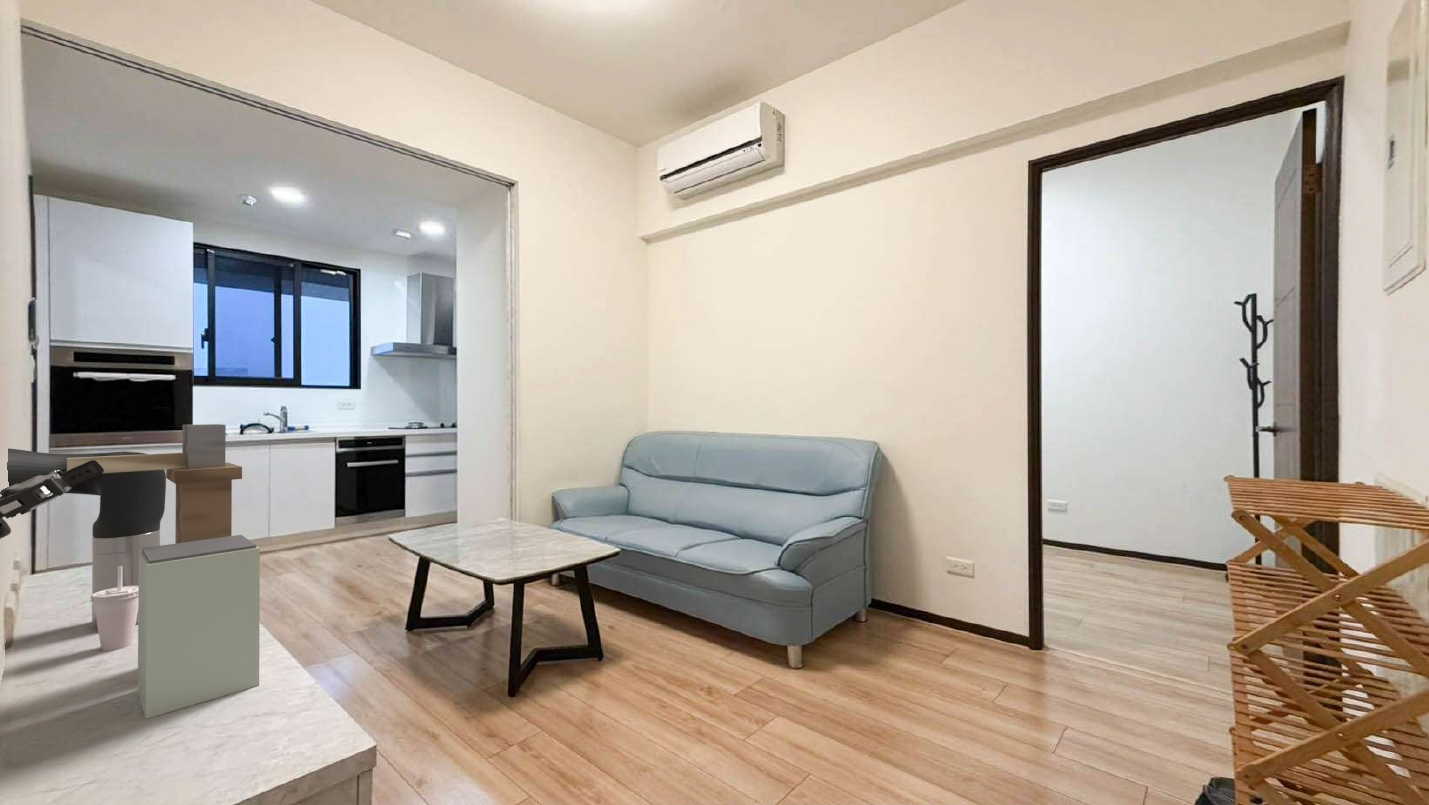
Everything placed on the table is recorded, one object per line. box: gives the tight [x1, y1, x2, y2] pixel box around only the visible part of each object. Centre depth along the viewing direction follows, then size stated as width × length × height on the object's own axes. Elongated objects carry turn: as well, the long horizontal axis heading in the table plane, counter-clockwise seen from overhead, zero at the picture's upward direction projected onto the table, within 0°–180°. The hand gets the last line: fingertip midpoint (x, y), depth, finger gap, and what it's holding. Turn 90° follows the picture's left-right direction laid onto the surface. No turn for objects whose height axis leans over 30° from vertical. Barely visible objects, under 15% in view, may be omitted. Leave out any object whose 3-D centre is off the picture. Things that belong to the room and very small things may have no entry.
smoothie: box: [90, 566, 139, 652], centre depth 98 cm, size 6×6×14 cm
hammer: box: [67, 423, 227, 473], centre depth 89 cm, size 7×17×7 cm, turn 139°
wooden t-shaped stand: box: [165, 462, 243, 544], centre depth 94 cm, size 12×8×32 cm, turn 49°
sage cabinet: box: [137, 534, 261, 719], centre depth 84 cm, size 12×12×21 cm
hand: (98, 463), depth 85 cm, fingers open, 8 cm apart
